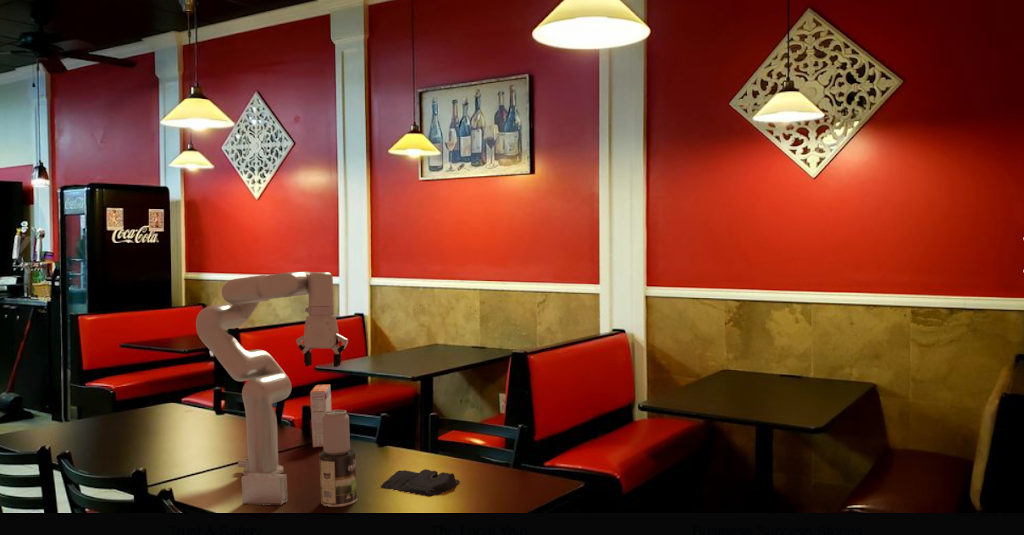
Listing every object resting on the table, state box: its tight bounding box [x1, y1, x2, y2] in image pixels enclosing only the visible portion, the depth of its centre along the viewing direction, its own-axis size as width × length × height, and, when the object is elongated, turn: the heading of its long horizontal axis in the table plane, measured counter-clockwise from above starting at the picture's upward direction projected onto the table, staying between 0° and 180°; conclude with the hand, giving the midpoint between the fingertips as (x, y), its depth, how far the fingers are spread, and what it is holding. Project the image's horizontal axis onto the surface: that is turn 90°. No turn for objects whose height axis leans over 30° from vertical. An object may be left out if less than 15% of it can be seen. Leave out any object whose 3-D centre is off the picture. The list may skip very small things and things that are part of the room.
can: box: [322, 409, 351, 455], centre depth 229 cm, size 8×8×12 cm
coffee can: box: [318, 448, 358, 508], centre depth 229 cm, size 10×10×14 cm
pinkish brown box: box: [241, 473, 289, 506], centre depth 230 cm, size 12×4×8 cm, turn 78°
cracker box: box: [309, 384, 333, 448], centre depth 299 cm, size 14×6×21 cm, turn 5°
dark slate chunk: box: [380, 468, 461, 497], centre depth 243 cm, size 15×22×5 cm
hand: (322, 366), depth 250 cm, fingers open, 9 cm apart
